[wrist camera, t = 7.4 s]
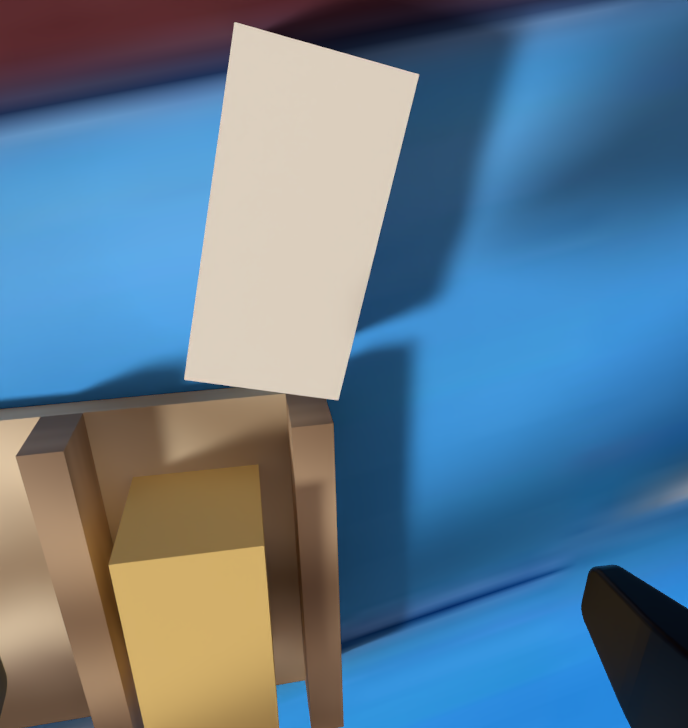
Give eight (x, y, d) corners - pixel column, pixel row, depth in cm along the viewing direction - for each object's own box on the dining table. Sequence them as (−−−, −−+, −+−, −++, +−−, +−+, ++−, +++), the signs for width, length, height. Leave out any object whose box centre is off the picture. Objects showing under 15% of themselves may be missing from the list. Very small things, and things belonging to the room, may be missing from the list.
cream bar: (319, 345, 19) (338, 400, 15) (194, 326, 18) (184, 379, 15) (378, 83, 16) (419, 74, 13) (235, 43, 15) (234, 22, 12)
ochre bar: (272, 640, 22) (280, 741, 19) (165, 655, 22) (152, 763, 18) (258, 464, 19) (264, 545, 16) (132, 477, 19) (108, 565, 15)
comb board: (334, 658, 25) (346, 726, 22) (-81, 726, 22) (-125, 811, 19) (322, 379, 19) (337, 423, 17) (-221, 429, 17) (-307, 489, 14)
